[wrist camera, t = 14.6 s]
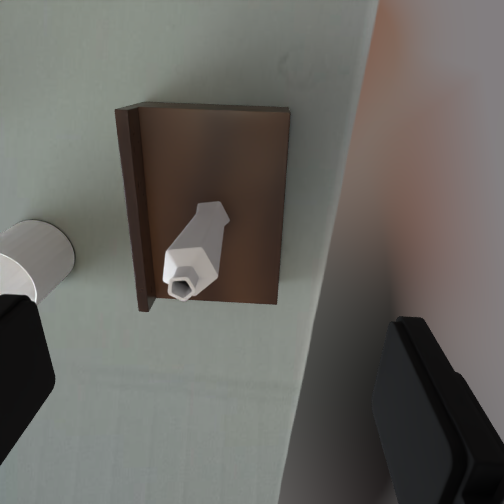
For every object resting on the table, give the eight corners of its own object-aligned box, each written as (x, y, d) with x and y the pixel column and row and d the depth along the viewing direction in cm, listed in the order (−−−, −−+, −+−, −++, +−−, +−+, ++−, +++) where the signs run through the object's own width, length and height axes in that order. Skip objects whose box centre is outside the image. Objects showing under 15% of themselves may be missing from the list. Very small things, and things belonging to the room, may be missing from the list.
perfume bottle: (210, 187, 40) (177, 248, 27) (239, 216, 41) (222, 288, 28) (181, 214, 42) (136, 285, 28) (209, 242, 43) (180, 322, 29)
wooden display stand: (288, 107, 41) (291, 116, 34) (276, 281, 51) (277, 319, 43) (143, 101, 42) (114, 109, 34) (158, 275, 52) (138, 311, 44)
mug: (72, 222, 49) (29, 255, 40) (79, 283, 53) (42, 323, 44) (-21, 212, 49) (-82, 242, 41) (-7, 273, 53) (-60, 312, 45)
